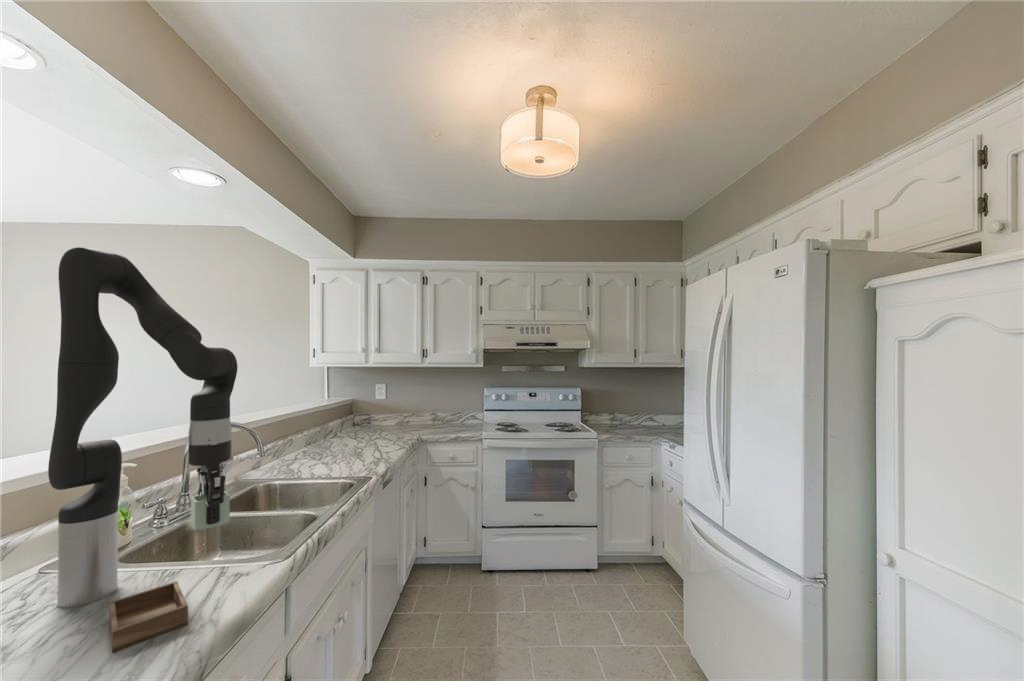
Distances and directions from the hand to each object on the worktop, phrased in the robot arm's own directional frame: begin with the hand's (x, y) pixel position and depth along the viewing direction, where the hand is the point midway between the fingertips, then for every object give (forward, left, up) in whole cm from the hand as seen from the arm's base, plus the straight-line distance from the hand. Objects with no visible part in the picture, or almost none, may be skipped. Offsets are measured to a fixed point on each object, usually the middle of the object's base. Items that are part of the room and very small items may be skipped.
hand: (210, 519), depth 90 cm
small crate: (0, 0, -1) cm, 1 cm away
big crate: (+2, -10, -16) cm, 19 cm away
